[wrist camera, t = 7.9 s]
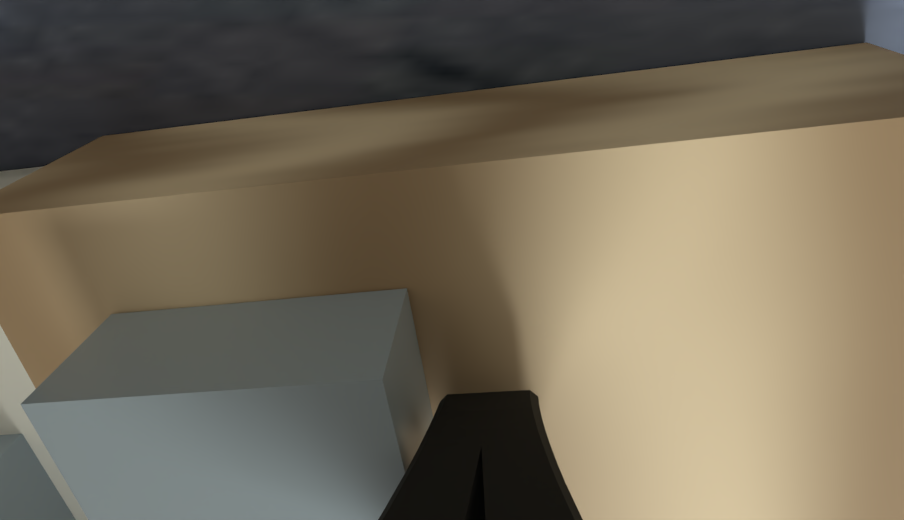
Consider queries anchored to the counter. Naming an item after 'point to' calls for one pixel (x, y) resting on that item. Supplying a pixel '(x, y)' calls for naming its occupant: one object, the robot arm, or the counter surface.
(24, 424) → the tray
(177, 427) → the slate tile
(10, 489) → the slate tile
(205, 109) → the counter surface
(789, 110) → the maple bench
